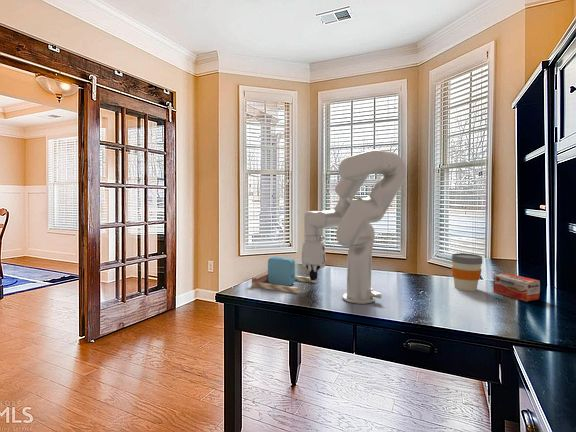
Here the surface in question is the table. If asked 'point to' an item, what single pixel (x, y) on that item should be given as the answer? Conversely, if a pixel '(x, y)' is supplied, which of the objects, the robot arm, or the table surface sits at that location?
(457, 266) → the reusable coffee cup
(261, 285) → the guide channel
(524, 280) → the medicine box
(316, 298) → the table surface
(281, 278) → the light blue square slab
